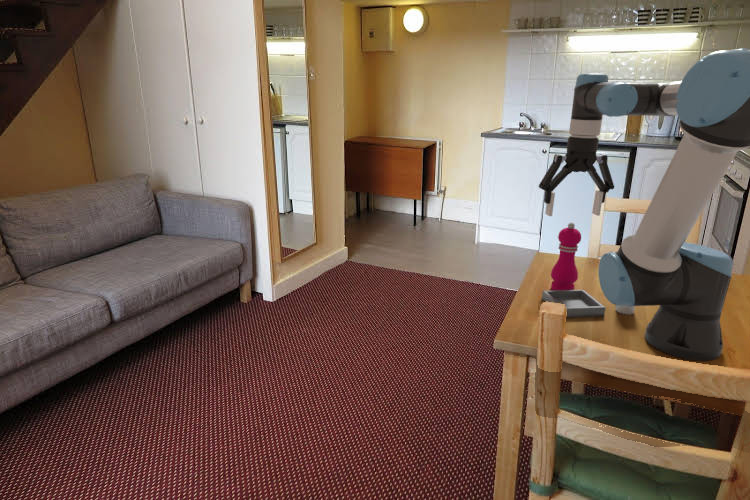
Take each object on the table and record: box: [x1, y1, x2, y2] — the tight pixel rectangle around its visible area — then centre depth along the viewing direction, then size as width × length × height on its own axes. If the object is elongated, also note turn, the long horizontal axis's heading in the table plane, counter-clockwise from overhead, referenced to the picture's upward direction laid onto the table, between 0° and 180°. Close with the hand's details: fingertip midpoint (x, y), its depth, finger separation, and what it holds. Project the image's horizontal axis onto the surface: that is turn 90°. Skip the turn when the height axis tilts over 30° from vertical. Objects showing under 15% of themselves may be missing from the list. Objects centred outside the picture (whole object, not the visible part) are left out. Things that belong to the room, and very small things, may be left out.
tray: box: [541, 289, 606, 318], centre depth 132 cm, size 12×12×2 cm
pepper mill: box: [550, 222, 582, 290], centre depth 141 cm, size 7×7×20 cm
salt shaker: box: [615, 305, 636, 315], centre depth 129 cm, size 4×4×10 cm
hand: (572, 214), depth 137 cm, fingers open, 13 cm apart
